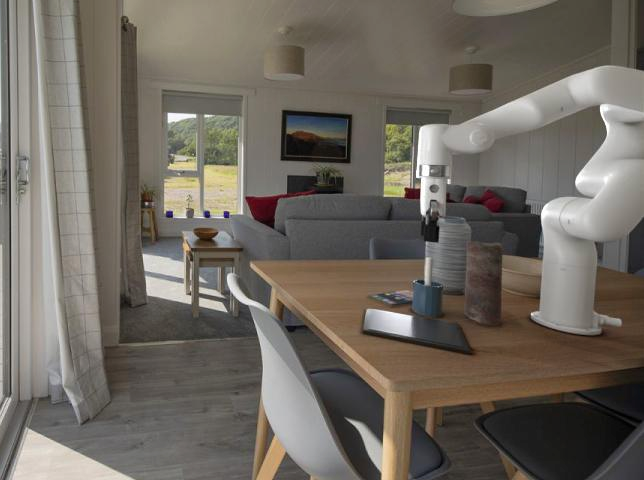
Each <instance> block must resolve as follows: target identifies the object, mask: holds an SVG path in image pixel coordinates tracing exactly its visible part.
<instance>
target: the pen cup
mask: <svg viewBox="0 0 644 480" xmlns="http://www.w3.org/2000/svg"><path fill="white" fill-rule="evenodd" d="M412 291H413V298H412V303H411V310H412V311H413V312H415V313H416V314H420V315H423V316H427V317H440V316H442V315H443V300H444V299H443V298H444V293H443V284H441V283H439V282H436V281H432V282H431V286H427V285H425V280H424V278H423V279H422V278H421V279H420V278H417V279H416V278H415V279H413V281H412Z"/></svg>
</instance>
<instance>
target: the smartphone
mask: <svg viewBox="0 0 644 480" xmlns="http://www.w3.org/2000/svg"><path fill="white" fill-rule="evenodd" d="M368 297H370V298H372V299H375V300H377V301H379V302H382V303H384V304H387V305H388V306H398V305H408V304H412V298H413V290H409V289H399V290H394V291H389V292H381V293H376V294H369V295H368Z"/></svg>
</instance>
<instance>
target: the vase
mask: <svg viewBox="0 0 644 480" xmlns="http://www.w3.org/2000/svg"><path fill="white" fill-rule="evenodd" d="M439 226H440V230H439V242H438V243H435V242H425V250H424V267H423V279H424V280H425V268H426V258H433V264H432V281H436V282H439V283H441V284H443V295H455V296H456V295H461V294H462V292H465V286H466V264H467V241H472V228H471V226H470V225H469V223H467V218H465V217H461V216H454V215H453V216H452V215H445V218H441V217H440V216H439Z"/></svg>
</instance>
